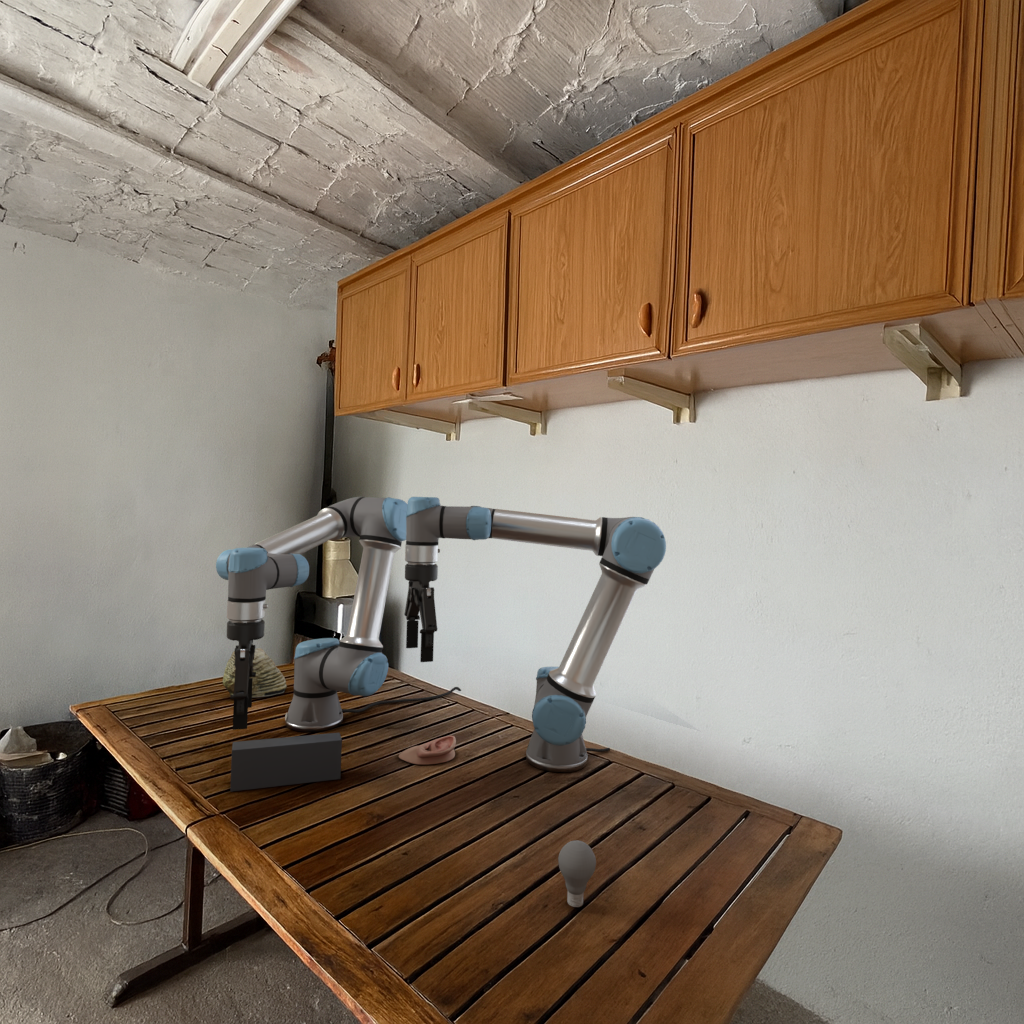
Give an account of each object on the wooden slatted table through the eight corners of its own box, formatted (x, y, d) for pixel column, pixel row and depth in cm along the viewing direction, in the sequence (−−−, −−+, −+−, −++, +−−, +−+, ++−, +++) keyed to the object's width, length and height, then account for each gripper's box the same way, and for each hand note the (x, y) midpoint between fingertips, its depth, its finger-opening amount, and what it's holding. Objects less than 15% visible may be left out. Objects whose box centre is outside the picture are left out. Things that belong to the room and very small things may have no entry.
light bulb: (553, 893, 104) (556, 833, 104) (589, 892, 104) (592, 832, 104) (559, 917, 98) (562, 853, 98) (597, 916, 99) (600, 853, 98)
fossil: (218, 695, 195) (220, 647, 195) (278, 685, 208) (279, 640, 207) (228, 703, 189) (230, 653, 188) (289, 692, 201) (290, 645, 201)
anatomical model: (394, 745, 152) (411, 728, 164) (393, 761, 153) (410, 744, 164) (446, 752, 150) (460, 734, 161) (446, 768, 150) (459, 750, 161)
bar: (230, 791, 134) (231, 750, 134) (231, 782, 139) (232, 741, 139) (340, 779, 142) (341, 739, 142) (338, 770, 147) (339, 732, 147)
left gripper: (261, 631, 126) (257, 737, 126) (267, 609, 149) (264, 698, 150) (220, 632, 123) (216, 740, 124) (232, 609, 147) (229, 700, 147)
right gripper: (453, 568, 137) (450, 666, 137) (423, 557, 160) (421, 641, 160) (419, 569, 134) (416, 669, 134) (393, 558, 157) (391, 643, 157)
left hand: (242, 717), depth 137 cm, fingers open, 13 cm apart
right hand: (419, 654), depth 147 cm, fingers open, 13 cm apart
